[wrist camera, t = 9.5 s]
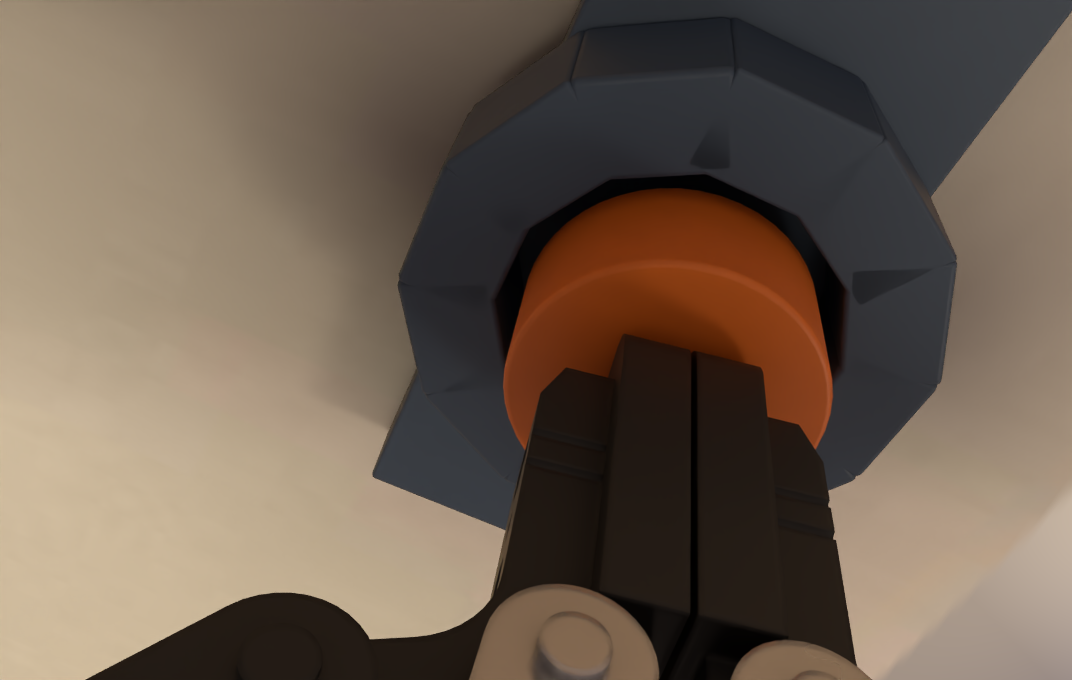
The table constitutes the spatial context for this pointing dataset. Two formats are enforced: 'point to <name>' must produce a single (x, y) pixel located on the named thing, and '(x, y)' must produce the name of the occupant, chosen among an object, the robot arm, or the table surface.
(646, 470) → the robot arm
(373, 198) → the table surface
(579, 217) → the button
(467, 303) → the button box
